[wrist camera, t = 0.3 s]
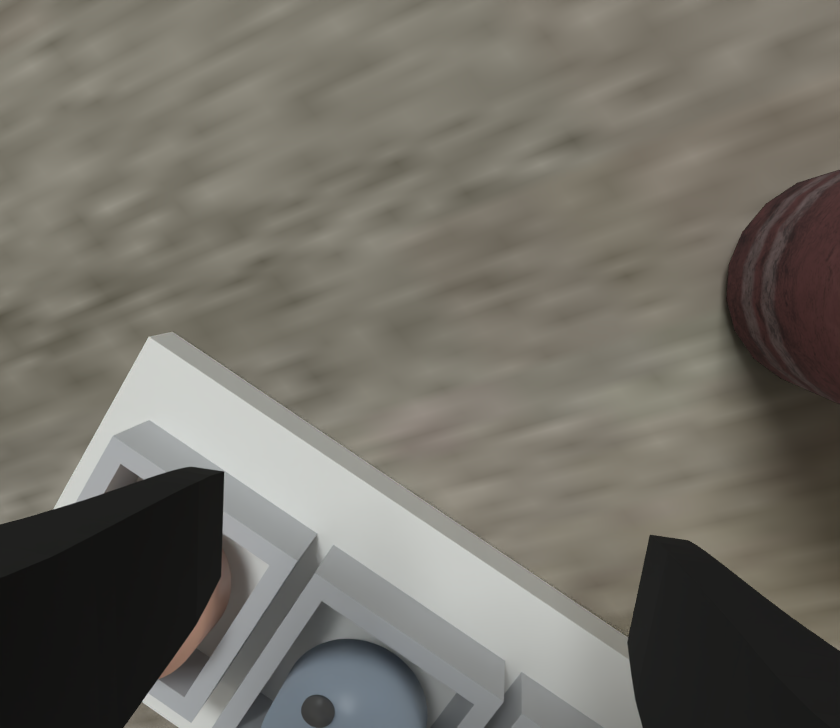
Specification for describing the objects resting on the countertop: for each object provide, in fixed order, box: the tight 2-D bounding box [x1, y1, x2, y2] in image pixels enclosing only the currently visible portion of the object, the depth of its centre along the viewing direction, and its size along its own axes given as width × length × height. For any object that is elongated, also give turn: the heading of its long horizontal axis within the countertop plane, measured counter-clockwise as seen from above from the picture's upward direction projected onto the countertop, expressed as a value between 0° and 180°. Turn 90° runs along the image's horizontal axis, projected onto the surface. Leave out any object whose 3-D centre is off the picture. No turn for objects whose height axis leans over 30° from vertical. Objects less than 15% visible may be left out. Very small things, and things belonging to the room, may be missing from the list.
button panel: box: [54, 332, 643, 728], centre depth 22 cm, size 11×23×4 cm, turn 57°
